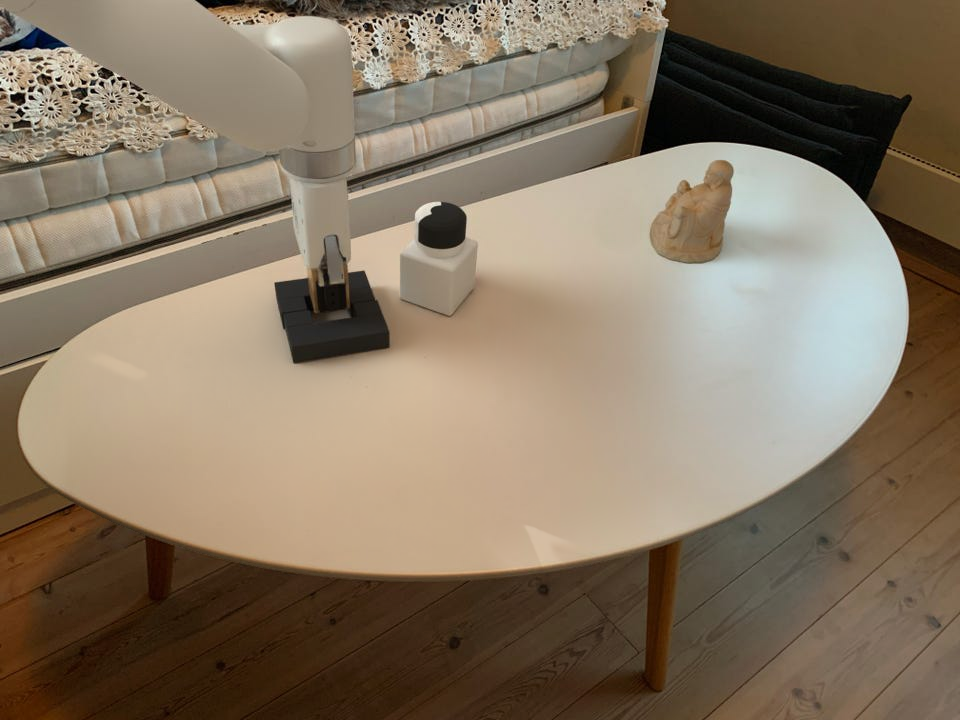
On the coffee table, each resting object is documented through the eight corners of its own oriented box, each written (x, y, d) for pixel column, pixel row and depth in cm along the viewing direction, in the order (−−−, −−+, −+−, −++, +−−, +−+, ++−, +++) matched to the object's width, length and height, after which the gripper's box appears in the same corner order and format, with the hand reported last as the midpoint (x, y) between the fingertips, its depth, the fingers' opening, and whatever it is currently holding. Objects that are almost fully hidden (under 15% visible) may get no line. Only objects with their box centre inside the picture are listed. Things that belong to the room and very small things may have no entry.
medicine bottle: (475, 287, 99) (482, 205, 91) (450, 318, 95) (455, 234, 86) (425, 270, 101) (428, 189, 93) (398, 299, 96) (398, 216, 88)
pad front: (293, 363, 87) (291, 347, 85) (285, 329, 91) (283, 313, 89) (389, 347, 90) (389, 331, 88) (377, 315, 94) (377, 299, 92)
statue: (774, 204, 99) (705, 173, 98) (713, 284, 109) (649, 257, 107) (760, 159, 109) (697, 131, 107) (705, 237, 118) (646, 212, 116)
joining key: (315, 313, 88) (311, 270, 84) (309, 292, 91) (305, 249, 87) (350, 308, 89) (347, 265, 85) (343, 287, 92) (340, 245, 88)
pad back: (283, 329, 91) (281, 312, 89) (276, 298, 95) (274, 282, 93) (375, 315, 94) (375, 299, 92) (365, 286, 98) (364, 270, 96)
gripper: (268, 117, 82) (285, 260, 94) (292, 199, 71) (307, 349, 83) (338, 112, 84) (346, 252, 97) (373, 190, 73) (377, 338, 85)
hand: (328, 295), depth 90 cm, fingers closed on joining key, 4 cm apart
